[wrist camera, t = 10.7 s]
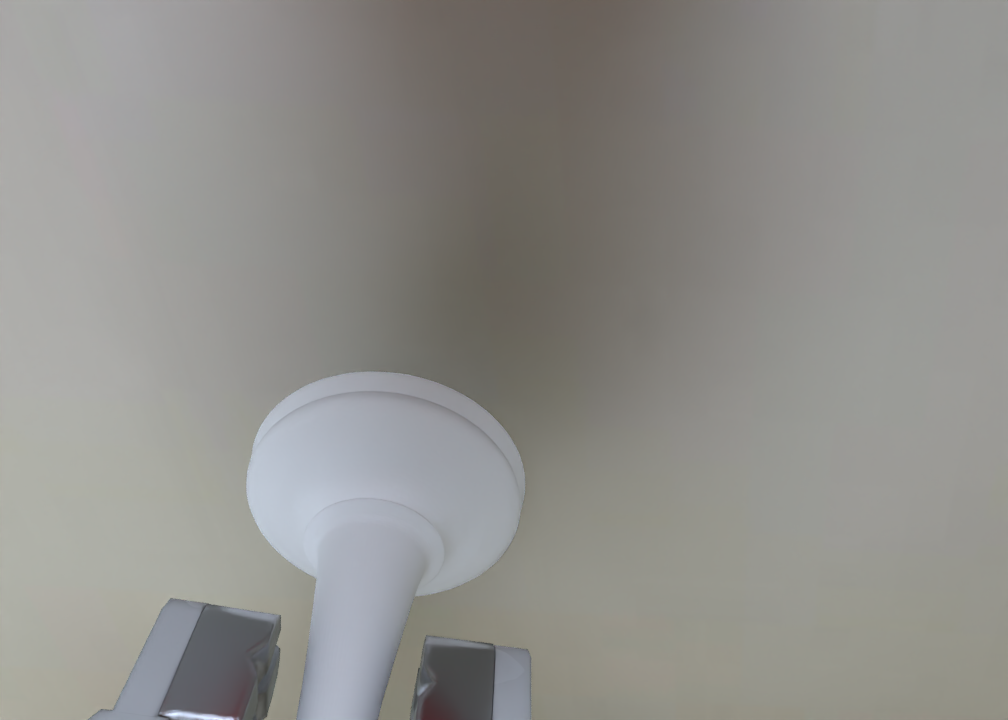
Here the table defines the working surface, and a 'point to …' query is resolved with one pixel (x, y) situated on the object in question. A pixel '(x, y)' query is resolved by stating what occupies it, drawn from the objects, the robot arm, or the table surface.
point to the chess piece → (379, 516)
